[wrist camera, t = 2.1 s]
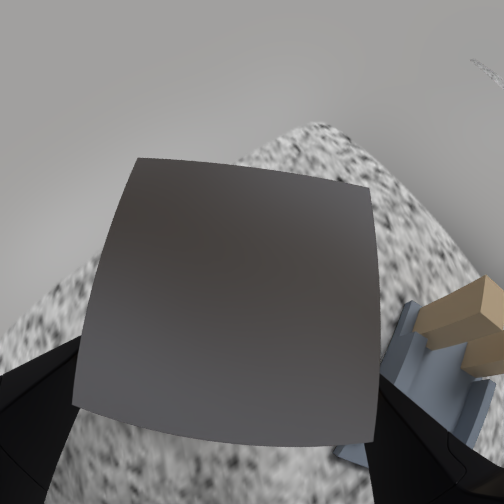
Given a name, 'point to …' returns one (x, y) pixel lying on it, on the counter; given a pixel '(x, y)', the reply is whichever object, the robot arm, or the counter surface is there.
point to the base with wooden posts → (447, 359)
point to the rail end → (236, 308)
